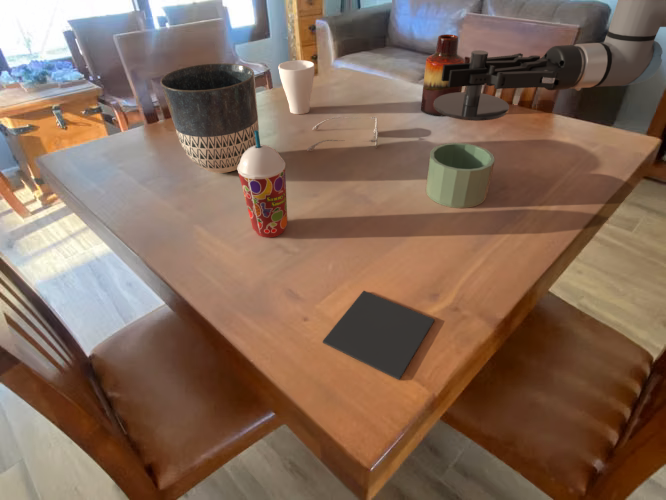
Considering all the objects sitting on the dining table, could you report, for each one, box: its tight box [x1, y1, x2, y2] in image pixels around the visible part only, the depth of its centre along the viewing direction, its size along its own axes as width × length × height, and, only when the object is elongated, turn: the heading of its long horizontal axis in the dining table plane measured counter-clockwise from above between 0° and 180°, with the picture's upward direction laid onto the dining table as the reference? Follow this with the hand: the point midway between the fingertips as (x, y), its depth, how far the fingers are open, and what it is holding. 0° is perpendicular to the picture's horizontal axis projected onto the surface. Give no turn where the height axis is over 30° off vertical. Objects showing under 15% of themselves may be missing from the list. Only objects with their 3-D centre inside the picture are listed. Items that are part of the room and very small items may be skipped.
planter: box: [159, 62, 260, 174], centre depth 97 cm, size 20×20×21 cm
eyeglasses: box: [306, 116, 379, 152], centre depth 113 cm, size 15×18×4 cm
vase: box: [420, 33, 466, 117], centre depth 123 cm, size 11×11×20 cm
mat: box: [322, 290, 435, 381], centre depth 62 cm, size 12×12×1 cm
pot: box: [425, 142, 496, 209], centre depth 89 cm, size 13×13×8 cm
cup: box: [277, 59, 315, 115], centre depth 128 cm, size 10×10×14 cm
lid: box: [434, 49, 510, 122], centre depth 77 cm, size 14×14×10 cm
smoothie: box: [236, 130, 288, 238], centre depth 77 cm, size 8×8×20 cm
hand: (446, 75), depth 76 cm, fingers closed on lid, 3 cm apart
